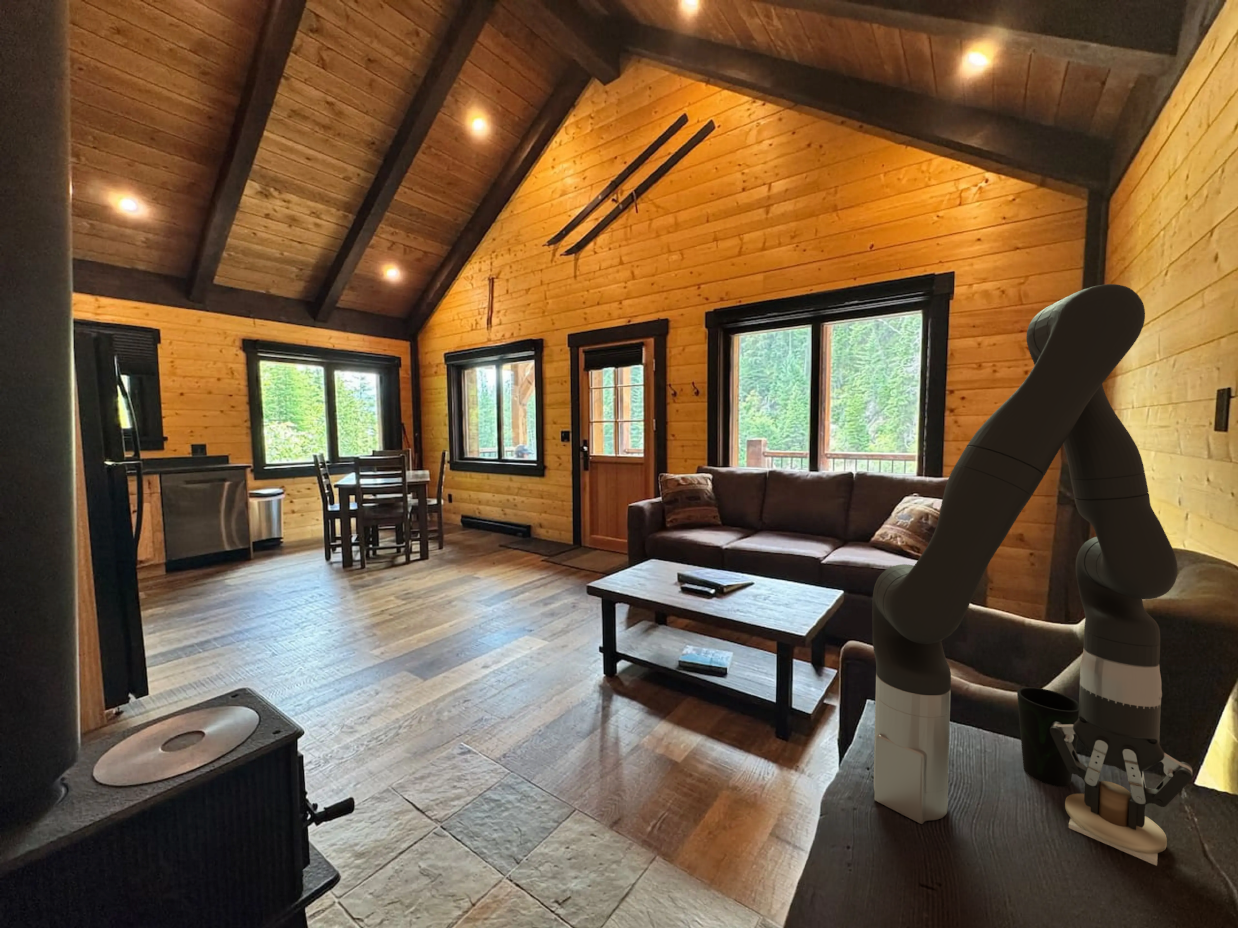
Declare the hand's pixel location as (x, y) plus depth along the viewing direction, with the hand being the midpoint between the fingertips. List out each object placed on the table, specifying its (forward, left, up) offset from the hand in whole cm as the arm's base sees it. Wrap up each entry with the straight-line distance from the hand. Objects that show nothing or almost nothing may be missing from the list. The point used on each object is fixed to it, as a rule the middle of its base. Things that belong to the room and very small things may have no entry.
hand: (1113, 817), depth 66 cm
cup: (+8, +8, -2) cm, 12 cm away
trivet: (0, 0, -2) cm, 2 cm away
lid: (0, 0, -1) cm, 1 cm away
